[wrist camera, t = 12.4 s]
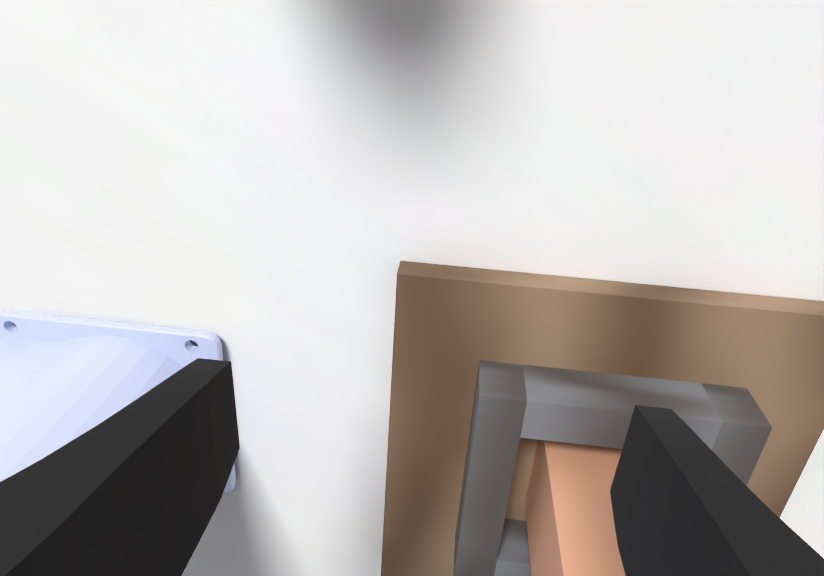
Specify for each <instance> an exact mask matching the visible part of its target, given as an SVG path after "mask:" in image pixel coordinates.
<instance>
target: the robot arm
mask: <svg viewBox="0 0 824 576" xmlns="http://www.w3.org/2000/svg"><path fill="white" fill-rule="evenodd" d="M12 322H13V323H14V324H15V325H16V326H17V327H16V326H15V325H13V324H12ZM189 340H192V341H195V342H196V343H197V344H198V346H194V345H192V344H191V343H190V341H189ZM239 448H240V447H239V437H238V427H237V417H236V407H235V398H234V388H233V378H232V368H231V362H230V361H223V352H222V344H221V341H220V339H219V337H218V336H217V335H215V334H214V333H212V332H208V331H201V330H191V329H181V328H172V327H162V326H153V325H143V324H134V323H124V322H115V321H105V320H95V319H86V318H76V317H67V316H57V315H48V314H38V313H29V312H19V311H9V310H0V576H181V575H182V573H183V571H184V569H185V568H186V566H187V564H188V562H189V560H190V558H191V556H192V554H193V552H194V550H195V548H196V546H197V545H198V543H199V541H200V539H201V537H202V535H203V533H204V531H205V529H206V527H207V525H208V523H209V521H210V519H211V517H212V515H213V513H214V511H215V509H216V507H217V505H218V503H219V501H220V499H221V497H222V494H223V493H229V492H231V491H232V490H233V489H234V487H235V485H236V473H235V464H234V462H235V459H236V456H237V453H238V450H239ZM610 495H611V502H612V510H613V518H614V525H615V531H616V537H617V544H618V549H619V553H620V556H621V560H622V564H623V568H624V571H625V575H626V576H824V559H823V558H822V557H821V556H820V555H819V554H818V553H817V552H816V551H815V550H814V549H812V548H811V547H810V546H809V545H808V544H807V543H806V542H805V541H804V540H803V539H801V538H800V537H799V536H798V535H797V534H796V533H795V532H794V531H793V530H792V529H790V528H789V527H788V526H787V525H786V524H785V523H784V522H783V521H782V520H781V519H780V518H779V517H778V516H777V515H776V514H775V513H773V512H772V511H771V510H770V509H769V508H768V507H767V506H766V505H765V504H764V503H763V502H762V501H761V500H760V499H759V498H758V497H757V496H756V495H755V494H754V493H753V492H752V491H751V490H750V489H749V488H748V487H747V486H746V485H745V484H744V483H743V482H742V481H741V480H740V479H739V478H738V477H737V476H736V475H735V474H734V473H733V472H732V471H731V470H730V469H729V468H728V467H727V466H726V465H725V464H724V463H723V461H722V460H721V459H720V458H719V457H718V456H717V455H716V454H715V453H714V452H713V451H712V450H711V449H710V448H709V447H708V446H707V445H706V444H705V443H704V442H703V441H702V440H701V439H700V437H699V436H698V435H697V434H696V433H695V432H694V431H693V430H692V429H691V428H690V427H689V426H688V425H687V424H686V423H685V422H684V421H683V420H682V419H681V418H680V417H679V416H678V415H677V414H676V413H675V412H674V411H673V410H672V409H668V408H658V407H649V406H640V405H635V408H634V411H633V415H632V418H631V421H630V425H629V428H628V431H627V435H626V438H625V442H624V445H623V448H622V452H621V455H620V458H619V462H618V465H617V468H616V472H615V475H614V478H613V482H612V485H611V489H610Z"/></svg>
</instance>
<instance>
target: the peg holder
mask: <svg viewBox="0 0 824 576" xmlns="http://www.w3.org/2000/svg"><path fill="white" fill-rule="evenodd" d="M635 405H640V406H649V407H658V408H668V409H672V410H673V411H674V412H675V413H676V414H677V415H678V416H679V417H680V418H681V419H682V420H683V421H684V422H685V423H686V424H687V425H688V426H689V427H690V428H691V429H692V430H693V431H694V432H695V433H696V434H697V435H698V436H699V437H700V439H701V440H702V441H703V442H704V443H705V444H706V445H707V446H708V447H709V448H710V449H711V450H712V451H713V452H714V453H715V454H716V455H717V456H718V457H719V458H720V459H721V460H722V461H723V463H724V464H725V465H726V466H727V467H728V468H729V469H730V470H731V471H732V472H733V473H734V474H735V475H736V476H737V477H738V478H739V479H740V480H741V481H742V482H743V483H744V484H745V485H746V486H747V487H748V488H749V489H750V490H751V491H752V492H753V493H754V494H755V495H756V496H757V497H758V498H759V499H760V500H761V501H762V502H763V503H764V504H765V505H766V506H767V507H768V508H769V509H770V510H771V511H772V512H773V513H775V514H776V515H777V516H778V517H780V515H781V513H782V511H783V509H784V507H785V505H786V503H787V501H788V499H789V497H790V495H791V493H792V491H793V489H794V487H795V485H796V483H797V481H798V479H799V477H800V475H801V473H802V471H803V469H804V467H805V465H806V463H807V461H808V459H809V457H810V455H811V453H812V451H813V449H814V447H815V445H816V443H817V441H818V439H819V437H820V435H821V433H822V431H823V429H824V302H823V301H813V300H802V299H792V298H781V297H771V296H760V295H750V294H740V293H729V292H719V291H708V290H698V289H687V288H677V287H667V286H656V285H646V284H635V283H625V282H614V281H604V280H594V279H583V278H573V277H562V276H552V275H541V274H531V273H521V272H510V271H500V270H489V269H479V268H469V267H458V266H448V265H437V264H427V263H416V262H406V261H401V262H400V265H399V269H398V273H397V287H396V306H395V324H394V343H393V362H392V380H391V399H390V418H389V436H388V455H387V474H386V492H385V511H384V530H383V548H382V567H381V576H531V568H530V556H529V545H528V534H527V522H526V511H525V498H526V493H527V489H528V484H529V479H530V475H531V470H532V466H533V461H534V456H535V452H536V447H537V443H538V440H546V441H555V442H564V443H573V444H582V445H591V446H600V447H609V448H618V449H622V448H623V445H624V442H625V438H626V435H627V431H628V428H629V425H630V421H631V418H632V415H633V411H634V408H635Z"/></svg>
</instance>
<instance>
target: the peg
mask: <svg viewBox="0 0 824 576" xmlns="http://www.w3.org/2000/svg"><path fill="white" fill-rule="evenodd" d="M621 452H622V449H618V448H609V447H600V446H591V445H582V444H573V443H564V442H555V441H546V440H538V443H537V447H536V452H535V456H534V461H533V466H532V470H531V475H530V479H529V484H528V489H527V493H526V498H525V511H526V522H527V534H528V545H529V556H530V568H531V576H626V575H625V571H624V568H623V564H622V560H621V556H620V553H619V549H618V544H617V537H616V531H615V525H614V518H613V510H612V502H611V495H610V489H611V485H612V482H613V478H614V475H615V472H616V468H617V465H618V462H619V458H620V455H621Z"/></svg>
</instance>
